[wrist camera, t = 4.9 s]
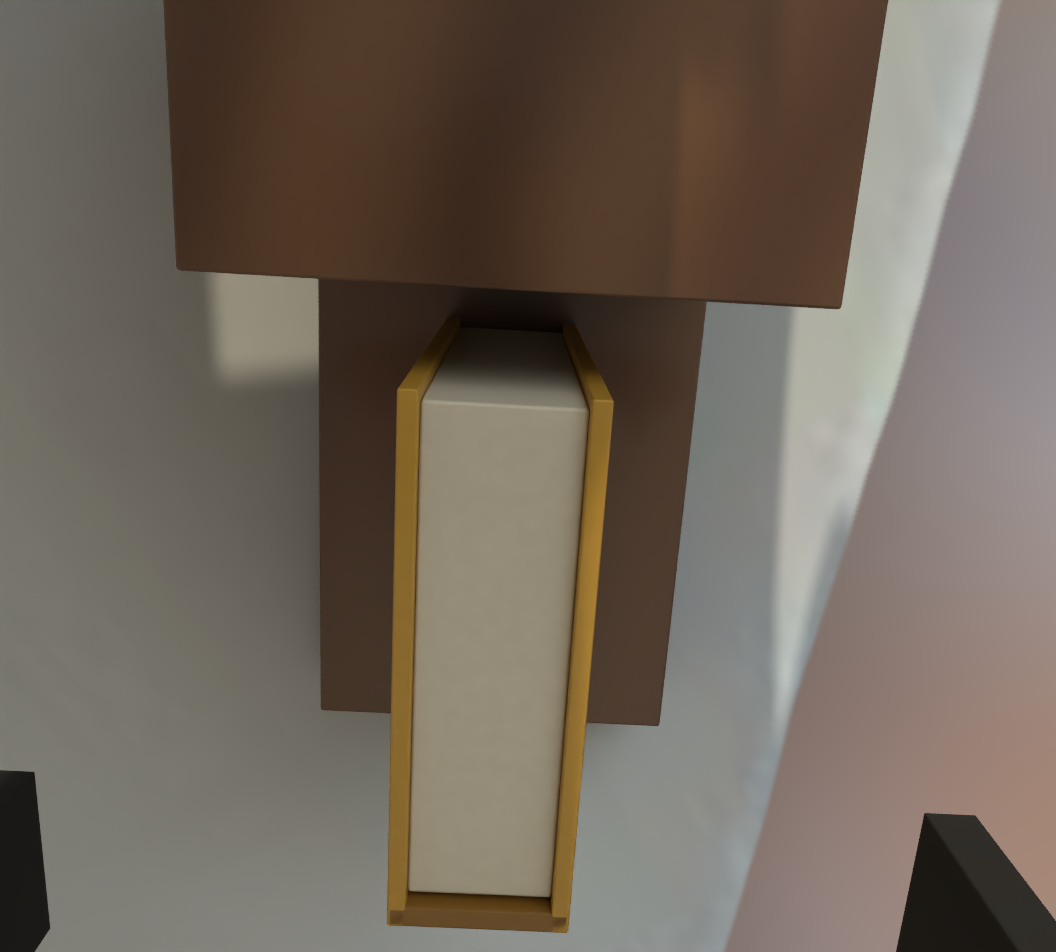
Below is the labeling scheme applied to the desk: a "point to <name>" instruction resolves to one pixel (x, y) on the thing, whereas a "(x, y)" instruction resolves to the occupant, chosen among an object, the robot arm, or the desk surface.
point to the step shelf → (519, 234)
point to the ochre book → (493, 624)
